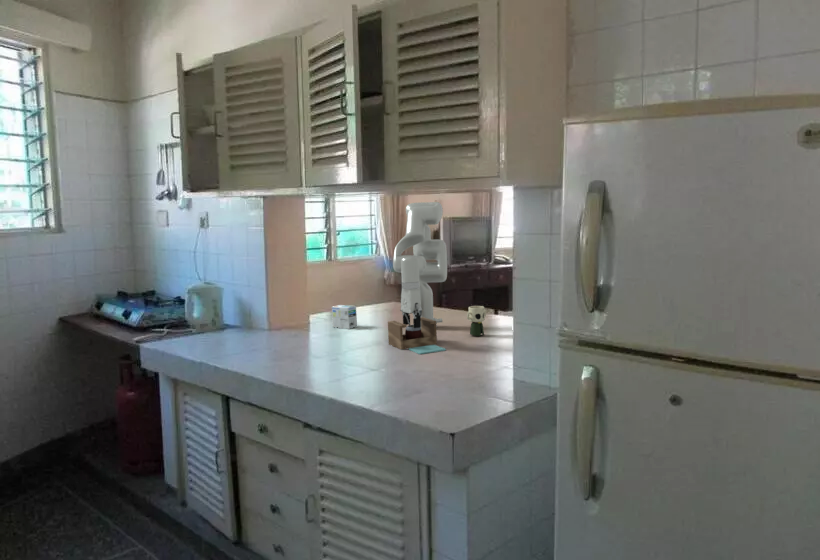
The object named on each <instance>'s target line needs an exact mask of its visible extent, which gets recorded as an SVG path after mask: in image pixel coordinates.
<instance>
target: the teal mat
mask: <svg viewBox="0 0 820 560" xmlns="http://www.w3.org/2000/svg"><path fill="white" fill-rule="evenodd" d="M408 351H411V352H413V353H416V354H418V355H424V354H432V353H438V352H445V351H447V348H445V347H442V346H438V345H437V344H436V345H427V346H421V347H414V348H408Z"/></svg>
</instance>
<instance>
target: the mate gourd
mask: <svg viewBox="0 0 820 560" xmlns="http://www.w3.org/2000/svg"><path fill="white" fill-rule="evenodd" d="M399 311H400V312H402V310H401V309H399ZM402 313H404V314H405V316H406V318H407V321H408V323H409V324H408V325H407V327H405V331H404V332H405V333H404V334H405V336H406V340H409V339H416V338H421V335H422V332H421V328H414V327H413V324H411V321H410V322H409V320H408V317H407V314H406V313H405V312H402Z"/></svg>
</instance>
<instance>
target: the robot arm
mask: <svg viewBox="0 0 820 560" xmlns="http://www.w3.org/2000/svg"><path fill="white" fill-rule="evenodd" d="M443 213H444V210H443V206H442V204H441V202H438V201H436V202H435V201H428V202H427V201H425V202H422V201H421V202H412V203H409V204H407V205H406V207H405V214H406V217H407V218H406V226H405V227H406V229H405V235H404V236H403V237H401V239H399V241H398V243H397V244H396V245H395V248H394V251H393V258H392V268H393V270H394V272H395V273H401V293H400V310H402V311H401V313H402V314H401V315H402V324H405V325H407V326H409V323H408V321H407V318H406V316H405V314H404V313H403V312H405V313H406V314H407V317H408V320H409V322H410V323H411V315H412V317H413V318H412V323H413V324H412V325H413V327H414V328H421V317H424V318H427V319H431V320H434V321H436V329H437V327H438V325H437V323H438V324H439V323H443V318H436V317H434V296H433V295H434V294H433V289H432V288H431V286H430V285H429V283H443V282H444V283H445V282H446V280H447V277H448V252H447V250H448V249H447V243H446V242H445V241H444V240H443V239H432V233H431V232H432V230H431V228H430V226H431V225H432V226H433V225H437V224H438V225H439V223H440V221H441V219H442V217H443ZM411 247H413V248H412V250H413V252H412V253H413V254H408V255H407V254H406V255H405V254H404V255H403V252H405V251H406V250H407V249H409V248H411ZM427 260H429V261H430V260H434V261H436V262H431V261H430V262H429V261H428V262H427ZM410 314H411V315H410Z"/></svg>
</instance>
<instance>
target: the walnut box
mask: <svg viewBox="0 0 820 560" xmlns="http://www.w3.org/2000/svg"><path fill="white" fill-rule="evenodd" d="M436 325H437V323H436V321H434V320H431V319H427V318H424V317H421V332H422V335H421V338H416V339H409V340H406V336H405V333H404V334H403V329H404V328H405V329H406V327H407V326H408V325H405V324H403V322H399V321H396V320H391V321H390V320H388V321H387V334H388V339H387V340H388V345H389V346H391V345H392V347H394V348H397V349H399V350H401V351H402V350H406V349H407V350H409V348H414V347H421V346H427V345H437V344H438V339H437V337H438V336H437V328H436Z"/></svg>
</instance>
